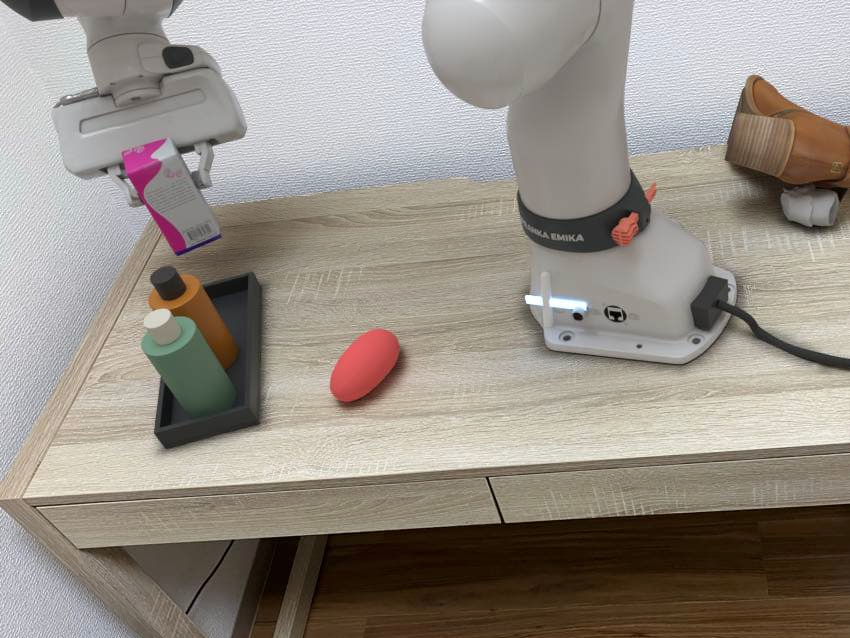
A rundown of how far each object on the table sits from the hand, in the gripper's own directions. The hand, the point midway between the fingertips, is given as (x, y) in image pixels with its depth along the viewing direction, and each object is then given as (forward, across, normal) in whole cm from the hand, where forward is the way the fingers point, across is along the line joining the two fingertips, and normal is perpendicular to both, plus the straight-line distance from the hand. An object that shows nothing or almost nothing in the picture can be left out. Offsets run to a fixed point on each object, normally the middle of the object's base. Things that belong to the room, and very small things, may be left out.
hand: (171, 196), depth 103 cm
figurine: (+19, +70, -2) cm, 73 cm away
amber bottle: (+19, 0, 0) cm, 19 cm away
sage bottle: (+24, 0, -6) cm, 24 cm away
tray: (+19, 0, 0) cm, 19 cm away
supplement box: (+4, 0, +5) cm, 6 cm away
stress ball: (+28, +18, -8) cm, 34 cm away
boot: (+8, +64, +3) cm, 65 cm away
